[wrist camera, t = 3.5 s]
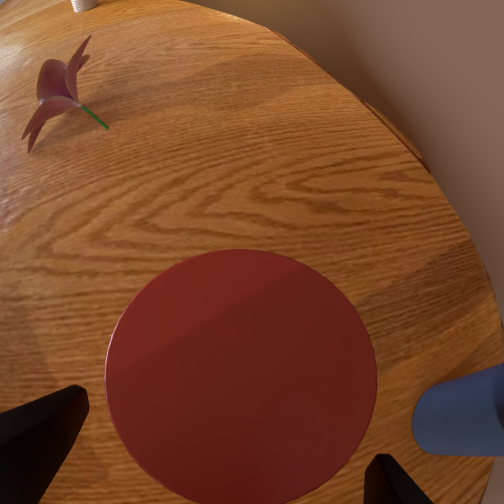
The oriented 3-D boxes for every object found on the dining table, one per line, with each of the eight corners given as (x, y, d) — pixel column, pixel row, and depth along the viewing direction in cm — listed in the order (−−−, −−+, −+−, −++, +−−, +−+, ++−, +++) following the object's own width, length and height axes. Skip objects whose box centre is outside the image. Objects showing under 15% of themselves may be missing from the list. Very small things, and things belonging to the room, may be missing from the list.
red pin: (292, 430, 16) (409, 451, 5) (206, 453, 15) (142, 529, 4) (267, 350, 18) (323, 225, 7) (183, 371, 17) (89, 278, 6)
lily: (116, 90, 32) (64, 39, 24) (166, 83, 25) (99, 9, 17) (52, 172, 30) (-8, 126, 23) (80, 193, 23) (-7, 127, 16)
